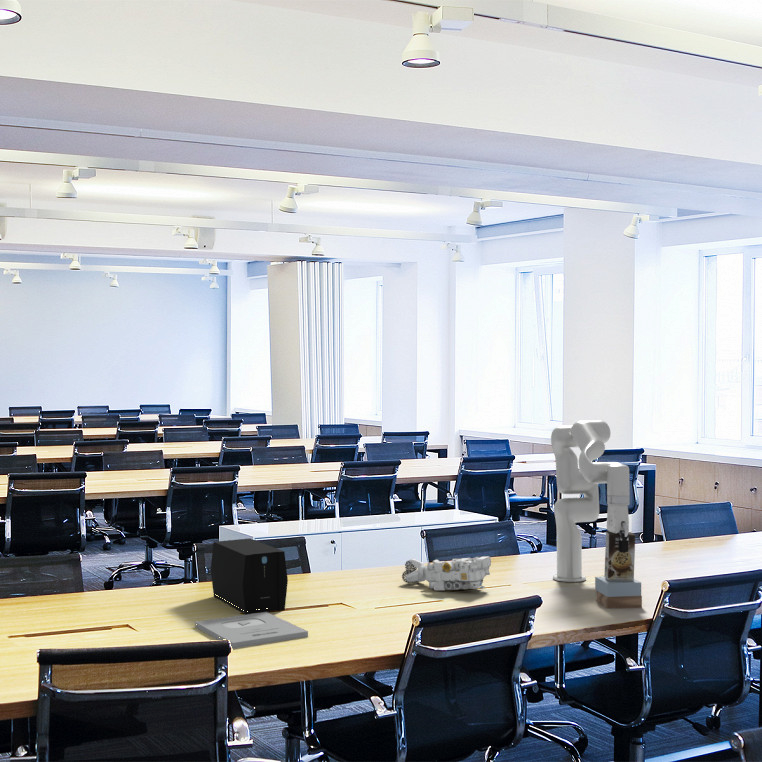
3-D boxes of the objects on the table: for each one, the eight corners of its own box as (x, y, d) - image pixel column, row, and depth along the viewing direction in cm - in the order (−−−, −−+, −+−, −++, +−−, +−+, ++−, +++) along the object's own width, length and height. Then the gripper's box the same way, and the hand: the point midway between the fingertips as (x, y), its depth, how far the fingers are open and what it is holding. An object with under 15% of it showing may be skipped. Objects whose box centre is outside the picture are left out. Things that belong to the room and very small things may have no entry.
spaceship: (480, 594, 351) (476, 560, 352) (394, 593, 368) (392, 561, 369) (497, 585, 365) (494, 553, 365) (414, 585, 382) (411, 555, 383)
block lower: (596, 602, 345) (596, 589, 345) (629, 601, 346) (629, 588, 346) (607, 610, 333) (607, 596, 333) (641, 609, 334) (641, 595, 334)
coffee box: (607, 581, 336) (608, 534, 336) (604, 576, 343) (605, 530, 342) (634, 581, 336) (635, 534, 335) (630, 577, 342) (631, 531, 342)
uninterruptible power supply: (242, 615, 326) (242, 555, 326) (209, 596, 355) (208, 541, 355) (288, 609, 334) (287, 551, 334) (251, 591, 363) (251, 537, 363)
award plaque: (232, 650, 285) (232, 642, 285) (195, 628, 311) (195, 621, 311) (308, 638, 298) (308, 631, 298) (266, 618, 324) (266, 611, 324)
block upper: (595, 589, 344) (595, 576, 344) (627, 588, 346) (627, 575, 346) (607, 596, 333) (607, 583, 333) (641, 595, 334) (641, 582, 334)
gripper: (599, 497, 348) (600, 545, 348) (616, 503, 330) (616, 554, 330) (620, 497, 348) (620, 545, 348) (637, 503, 331) (638, 553, 331)
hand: (618, 549), depth 339 cm, fingers open, 9 cm apart
